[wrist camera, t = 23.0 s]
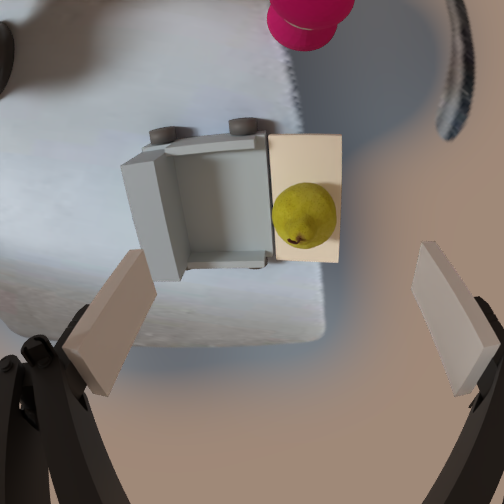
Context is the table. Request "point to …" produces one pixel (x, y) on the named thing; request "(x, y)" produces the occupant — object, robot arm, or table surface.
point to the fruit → (304, 215)
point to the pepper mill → (306, 21)
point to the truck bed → (202, 200)
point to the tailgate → (312, 171)
